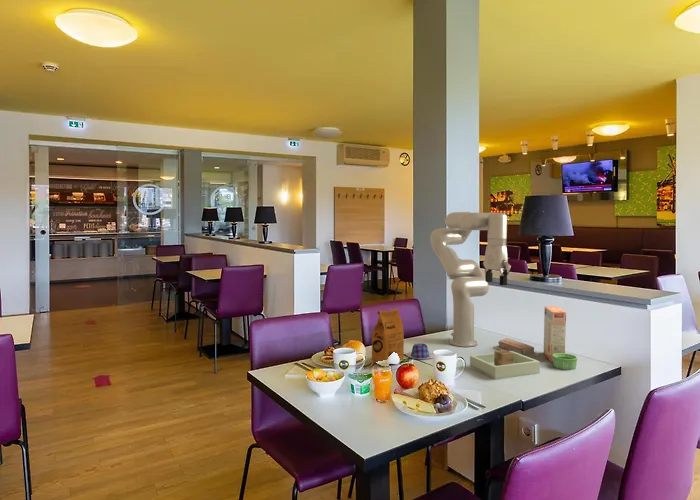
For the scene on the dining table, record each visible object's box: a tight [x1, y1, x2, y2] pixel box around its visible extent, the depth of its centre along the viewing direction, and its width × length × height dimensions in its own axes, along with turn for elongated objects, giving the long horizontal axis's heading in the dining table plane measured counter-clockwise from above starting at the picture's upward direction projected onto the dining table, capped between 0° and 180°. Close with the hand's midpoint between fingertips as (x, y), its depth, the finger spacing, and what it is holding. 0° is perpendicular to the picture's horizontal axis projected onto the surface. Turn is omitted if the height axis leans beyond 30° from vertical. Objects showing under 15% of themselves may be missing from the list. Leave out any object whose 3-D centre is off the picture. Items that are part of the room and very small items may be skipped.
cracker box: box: [543, 305, 567, 363], centre depth 198 cm, size 14×6×21 cm, turn 168°
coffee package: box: [371, 307, 405, 364], centre depth 193 cm, size 10×12×22 cm
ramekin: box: [552, 352, 578, 371], centre depth 186 cm, size 9×9×4 cm
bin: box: [469, 351, 541, 380], centre depth 182 cm, size 16×20×4 cm
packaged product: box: [492, 337, 538, 358], centre depth 208 cm, size 18×5×10 cm
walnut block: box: [493, 350, 513, 366], centre depth 182 cm, size 5×5×6 cm
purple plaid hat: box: [405, 342, 433, 360], centre depth 203 cm, size 12×12×5 cm
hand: (495, 283), depth 198 cm, fingers open, 9 cm apart
